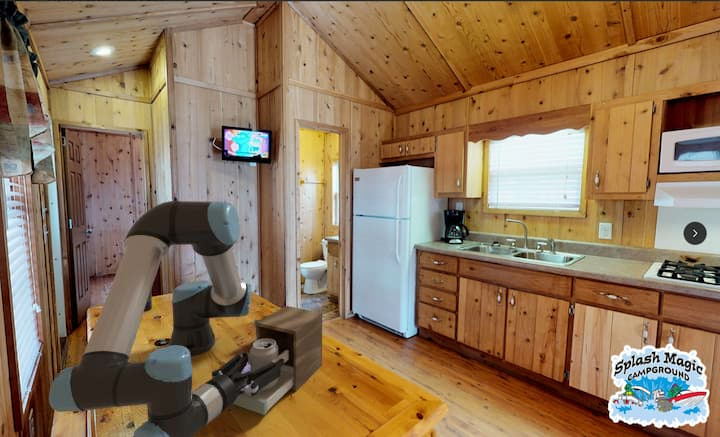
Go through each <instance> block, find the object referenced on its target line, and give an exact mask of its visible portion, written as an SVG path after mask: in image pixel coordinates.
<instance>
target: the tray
mask: <svg viewBox="0 0 720 437" xmlns="http://www.w3.org/2000/svg"><path fill="white" fill-rule="evenodd" d="M293 385H294V367H292V366H288V365H283V366H282V367H281V375H280V376H279V377H278V382H277V384H276V385H275V386H273V387H272V388H271V389H268V390H264V391H258V393H257V394H256V395H255V396H251V392H246V391H245V393H243V394H240V395H238V397H237V398H236V400H235V401H234V403H233V404H232V405H235V406H238V407H241V408H244V409H247V410H249V411H251V412H255V413H258V414H259V415H262V416H266V415H267V414H268V411H269V410H270V409H271V408H272V407H273V406H274V405H275V404H276V403H277V402H278V401H279V400H280V399H281V398H282V397H283V396H284V395H285V394H286V393H287V392H288V391H290V390H289V389H290V388H291V387H292V386H293Z"/></svg>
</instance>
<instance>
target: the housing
mask: <svg viewBox="0 0 720 437" xmlns="http://www.w3.org/2000/svg"><path fill="white" fill-rule="evenodd" d="M266 316H267V317H266ZM266 316H265V317H266V318H264V317H263V318H264V319H263V318H261V319H262V320H261V319H259V320H260V321H258V322H257V338H256V341H257V340H260V339H266V338H268V339H273V340H275V341H276V344H277V345H278V356H279V355H280V354H282V353H283V352H284V351H286V350H288V360H287V361H286V362H285V363H284V365H288V366H292V367H294V385H293V386H292V387H291V388H290V389H289V390H288V391H292V392H297V391H298V390H300V388H301V387H302V386H304V385H305V383H306V382H307V381H308V380H309V379H310V378H311V377H312V376H313V375H315V373H316V372H317V371H319V369H320V368H322V366H323V312H320V311H314V310H311V309H310V310H309V309H304V308H300V307H299V308H298V307H294V306H289V305H285V306H284V307H281V308H280V309H277V310H276V311H275V312H272V313H271V314H269V316H268V315H266Z"/></svg>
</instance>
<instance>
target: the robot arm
mask: <svg viewBox="0 0 720 437" xmlns="http://www.w3.org/2000/svg"><path fill="white" fill-rule="evenodd" d="M240 231H241V225H240V219H239V214H238V211H237V209H236V207H235V205H233V204H232V203H230V202H226V201H219V200H213V201H193V200H192V201H191V200H190V201H184V200H183V201H181V200H180V201H179V200H168V201H166V202H165V201H164V202H162V203H159V204H157V205H155V206H153V207H151V208H150V209H149V210H147V211H145V212H144V213H143V214H142V215H141V216H140V217H139V218H138V219H137V220H136V221H135V222H134V223H133V224H132V226H131V227H130V229H129V230H128V232H127V234H126V235H125V238H124V240H123V248H124V249H125V252H124V254H123V256H122V259H121V261H120V263H119V267H118V269H117V271H116V273H115V276H114V279H113V280H112V283H111V285H110V288H109V291H108V293H107V296H106V298H105V299H104V300H105V301H104V303H103V306H102V308H101V311H100V313H99V316H98V317H97V320H96V323H95V325H94V328H93V330H92V332H91V335H90V337H89V339H88V342H87V345H86V347H85V349H84V352H83V354H82V357H81V359H80V361H79V362H78V364H77V365H76V364H74V365H73V366H68V367H66V368H64V369H62V370H61V371H60V372H59V373H58V375H57V377H55V378H54V380H53V381H52V383H51V386H50V389H49V394H48V400H49V401H48V402H49V405H50V406H51V409H53V410H54V411H55V412H57V413H58V412H59V413H60V412H61V413H64V412H65V413H66V412H81V413H83V412H86V411H87V412H88V411H93V410H101V409H110V408H119V407H122V408H123V407H132V406H143V405H146V406H147V407H146V408H147V410H146V411H147V421H145V422H142V424H140V426H138V427H137V428H136V429H135V430H134V433H133V435H132V437H194V435H196V434H197V433H198V432H200V431H201V430H202V429H204V427H206V426H207V425H208V424H210V422H212V421H213V420H215V419H216V418H217V417H218V416H219V415H221V414H222V413H223V412H225V411H226V410H227V409H228V408H230V406H232V405H234V404H233V403H234V401H235V400H236V398H237V397H238V395H240V394H243V393H245V391H246V392H251V396H255V395H256V394H257V393H258V391H259V390H260V389H262V388H263V387H265V386H266V385H268V384H269V383H271V382H272V381H274V380H275V379H277V378H278V377H279V376H280V375H281V367H282V366H283V365H284V363H285V362H286V361H287V360H288V350H286V351H284V352H283V353H282V354H280V355H279V356H278V357H277V358H275V359H274V360H273V361H272V364H270V365H267V366H265V367H262V368H260V369H258V370H255V371H253V372H250V370H249V371H247V372H244V373H242V372H243V371H244V369H245V367H246V366H247V365H250V352H249V353H248V352H247V351H244V352H242V356H241V354H239V353H238V354H236V355H234V356H233V357H232V358H231V359H229V360H228V361H227V362H226V363H224V364H223V365H221V366H220V367H219V368H218V369H215V370H212V371H211V379H209V380H207V381H206V382H205V383H204V384H200V386H198V387H196V388H195V389H194V390H193V366H192V359H191V357H192V356H195V355H200V354H202V353H205V352H206V351H207V352H208V351H209V350H210V349H212V348H213V347H215V345H216V335H215V333H214V330H213V328H212V325H211V323H210V319H219V318H220V319H221V318H240V317H246V316H249V313H250V308H251V299H252V290H253V289H252V284H250V283H246V282H245V280H243V279H242V278H241V277H240V274H239V272H238V271H239V270H238V267H237V262H236V259H235V255H234V254H235V253H234V249H233V247H234V245H235V244H236V243H238V241H239V238H240ZM174 245H177V246H178V245H179V246H180V245H181V246H183V245H184V246H185V245H187V246H189V245H191V247H192V250H193V251H194V252H195V254H197V255H199V256H201V257H202V261H203V263H204V266H205V268H206V271H207V274H208V277H209V280H210V282H211V285H210V282H209V281H208V280H195V281H190V282H185V283H183V284H180V285H178V286H177V287H175V288H174V289H173V290H172V299H171V306H172V327H173V328H172V329H173V330H172V332H171V335H170V340H169V342H168V344H167V346H165V347H160V348H158V349H156V350H153V351H152V352H151V353H149V354H148V356H146V358H145V360H144V361H143V360H142V361H141V360H140V361H129V358H130V354H131V352H132V350H133V345H134V343H135V339H136V337H137V334H138V330H139V328H140V325H141V321H142V318H143V315H144V313H145V312H144V309H145V306H146V303H147V300H148V297H149V294H150V291H151V292H152V289H153V288H152V287H153V286H154V281H155V278H156V276H157V272H158V269H159V268H160V263H161V261H162V258H163V257H165V256H166V255H167V254H168V253H169V251H170V248H171V247H172V246H174Z"/></svg>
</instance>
